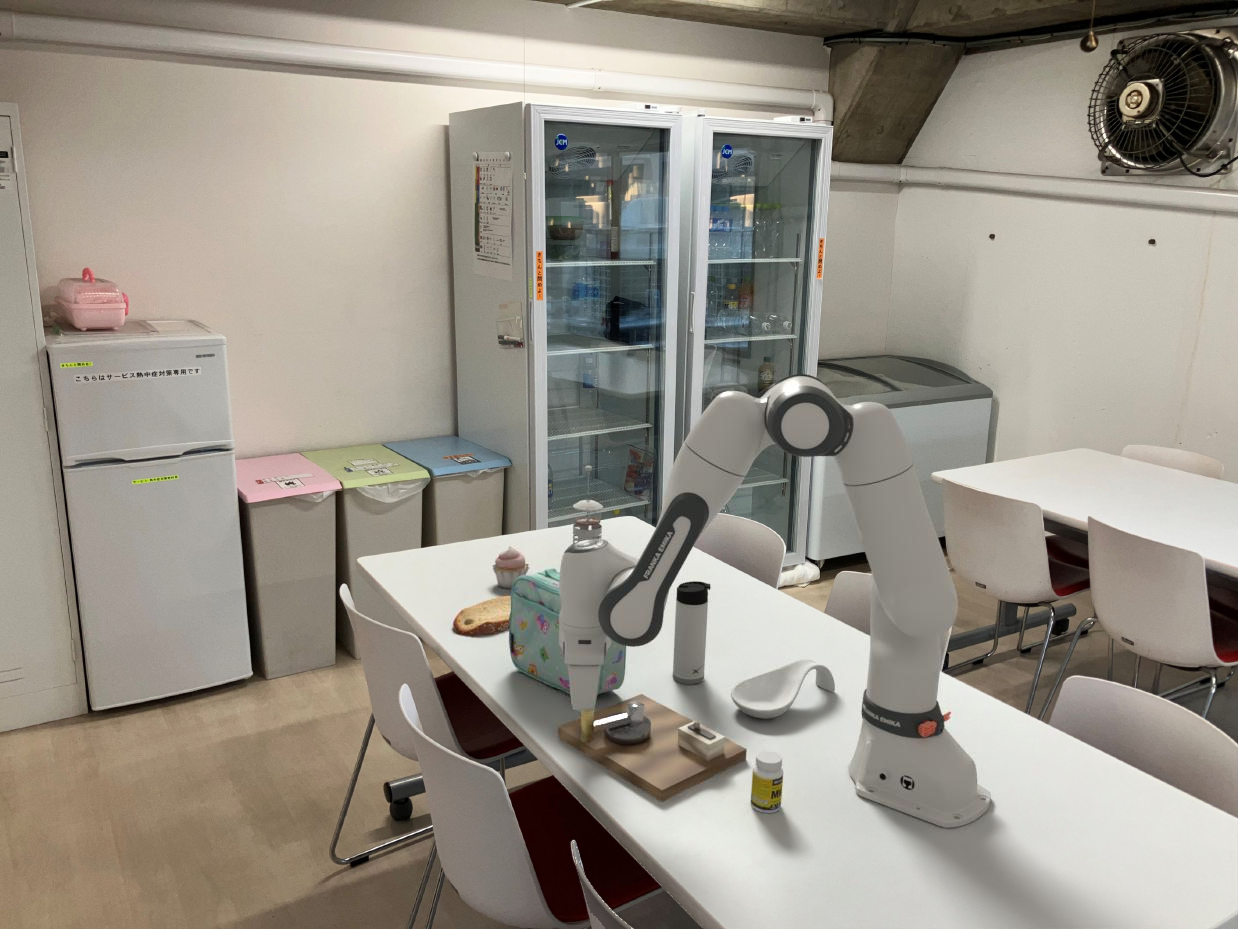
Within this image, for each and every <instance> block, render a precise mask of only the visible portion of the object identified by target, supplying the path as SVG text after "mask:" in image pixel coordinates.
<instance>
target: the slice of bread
mask: <svg viewBox="0 0 1238 929" xmlns="http://www.w3.org/2000/svg"><path fill="white" fill-rule="evenodd" d="M510 612H511V595H506V596H505V595H504V596H499V597H495V598H491V599H488V600H484V601H482V602H479V603H475V604H473V605H471V606H469V607H466V608H464V609H462V610H460V611H459V612H458V613H457V615H456V616H455V618H454V619H453V622H452V627H453V630H454V631H455V632H456V634H457V635H459V636H467V637H476V636H482V635H492V634H493V635H494V634H497V633H501V632H504V631H507V630H509V628H510V620H509V616H510Z"/></svg>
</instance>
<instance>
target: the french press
mask: <svg viewBox="0 0 1238 929" xmlns="http://www.w3.org/2000/svg"><path fill="white" fill-rule="evenodd" d="M584 470H585V471H587V493H589V492H590V490H589V483H590V482H589V479H590V471H593V467H592V466H591V465H586V466H585V468H584ZM572 507H573V508H574V509H575V510H576V511H578V512H585V513H586V512H587V513H586V516H579V517H576V518H575V519H574V524H572V525H573V526H572V544H573V543H576V542H579V541H581V540H586V539H602V529H603V527H602V524H600V523H601V519H600V518H598V517H593V516H590V515H591V514H592V513H594V516H596V514H597V513H596V512H599V511H601V510H602V509H603V507H604V506H603V505H602V504H601V503H599V502H597V501H595V500H592V499H583V500H579V501H578V502H576V503H574V504H572ZM590 513H591V514H590ZM590 527H591V528H590ZM589 528H590V529H589Z"/></svg>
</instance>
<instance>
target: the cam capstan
mask: <svg viewBox="0 0 1238 929" xmlns="http://www.w3.org/2000/svg"><path fill="white" fill-rule="evenodd" d="M594 712H595V709H594V710H592V711H581V712H580V718H581V738H580V740H581V741H582V742H585V743H589V742H592V741H593V740H594V732H597V731H601V730H604V735H605V737H606V738H607V739H608V740H609V741H611V742H613V743H616V744H619V745H638V744H641V743H644V742H646V741H647V740H648V739H649V738H650V735H651V722H650V720H649V719H648V718H647V717H645V716H644V704H643V703H642V702H638V701H632V702H629V703H628V704H627V712H620V713H615V714H612V715H610V716H609V717H607V718H605V719H601V720H597V721H594Z"/></svg>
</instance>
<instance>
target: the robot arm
mask: <svg viewBox="0 0 1238 929" xmlns="http://www.w3.org/2000/svg"><path fill="white" fill-rule="evenodd" d="M772 445H776V446H777V447H778V448H779V449H780V450H782V451H784V452H785V453H787V454H789V455H791V456H793V457H794V456H795V457H800V458H801V457H802V458H811V457H833V459H834V460H835V461H834V462H835V464H836V466H837V468H838V473H839V476H840V478H841V482H842V485H843V489H844V491H845V494H846V497H847V500H848V504H849V507H850V510H851V514H852V517H853V520H854V523H855V526H856V531H857V532H858V535H859V539H860V540H861V545H862V547H863V549H864V550H863V551H864V554H865V555H866V560H867V561H868V565H869V568H870V570H871V577H870V578H871V579H870V580H871V581H870V599H869V600H870V604H869V606H870V608H869V611H870V612H869V614H870V615H869V617H870V619H869V620H870V621H869V626H870V627H869V628H870V629H869V630H870V631H869V632H870V634H869V635H870V636H869V637H870V638H869V640H870V641H869V642H870V644H869V645H870V646H869V657H868V667H867V668H868V670H867V679H866V681H867V682H866V687H865V689H864V690H863V694H862V695H863V696H862V702H861V718H862V721H861V722H862V723H861V727H860V733H859V736H858V741H857V744H856V747H855V750H854V753H853V756H852V758H851V760H850V763H849V765H848V772H849V775H850V777H851V779H852V780H853V781H854V783H855V787H854V788H855V793H856V794H857V795H858V796H860V797H862V798H865V799H868V800H871V801H872V802H875V803H878V804H881V805H883V806H886V807H888V808H891V809H893V810H897V811H899V812H902V813H905V814H907V815H909V816H912V817H915V818H918V819H920V820H923V821H925V822H928V823H931V824H933V825H936V826H938V827H942V828H947V829H948V828H949V829H950V828H958V827H963V826H965V825H968V824H970V823H972V822H975V821H976V820H977V819H979V818H980V817H981V816H982V815H984V814H985V813H986V812H987V811H988V810H989V808H990V806H991V800H992V796H991V792H990V790H988V789H987V788H985V787H984V786H982V785H980V784H979V783H978V773H977V772H978V770H977V767H976V764H975V761H974V759H973V758H972V757H971V756H970V754H968V753H967V751H966V750H965V749H964V748H963V747H962V746H961V744H959V742H958V741H957V740H956V739H955V737H954V736H952V735H951V733H950V732H949V731H948V729H947V728H946V727H945V723H946V722H947V721H949V720H950V719H951V714H952V712H951V711H948V712H946V713H944V714H943V713H942V710H941V707H940V703H939V701H938V694H939V692H938V691H939V682H940V675H941V674H940V673H941V665H942V650H941V641H940V640H941V637H942V635H944V634H946V633H947V632H948V631H949V630H950V629H951V628H952V627H953V625H954V624H955V622H956V620H957V617H958V612H959V604H958V603H959V602H958V601H959V600H958V594H957V590H956V587H955V586H956V585H955V584H954V581H953V577H952V574H951V572H950V568H949V565H948V562H947V559H946V557H945V554H944V552H943V549H942V546H941V543H940V539H939V537H938V534H937V532H936V529H935V526H934V523H933V520H932V517H931V515H930V513H929V510H928V507H927V504H926V501H925V500H926V499H925V497H924V493H923V491H922V487H921V483H920V481H919V478H918V474H917V471H916V470H917V469H916V467H915V464H914V461H913V457H912V455H911V451H910V448H909V447H908V444H907V441H906V439H905V437H904V434H903V432H902V429H901V428H900V426H899V423H898V422H897V420H896V418H895V416H894V414H893V413H892V411H891V410H890V409H889V408H888V407H887V406H886V405H884V404H882V403H879V402H875V401H862V402H858V403H854V404H852V405H850V404H843V403H842V402H840V401H839V400H838V399H837V398H836V397H835V394H834V393H833V392H832V391H831V390H830V388H829V387H828V386H827V385H826V384H825V383H824V382H823V381H822V380H821V379H819V378H818V377H816V376H813V375H810V374H806V373H795V374H792V375H788V376H786V377H783V378H781V379H780V380H777V381H776V382H775V383H773V384H771V385H770V386H768V387H766V388H765V389H763V390H762V391H760V392H758V393H757V394H756V396H752V395H750V394H748V393H746V392H744V391H737V390H726V391H723V392H721V393H719V394H718V395H717V396H716V397H715V398H714V399H712V401H711V402H710V403H709V405H708V406H707V407H706V409H705V410H704V411H703V412H702V413H701V415H700V416H699V418H698V419H697V420H696V422H695V424H694V425H693V426H692V428H691V430H690V431H689V433H688V434H687V436H686V438H685V439H684V441H683V443H682V445H681V447H680V449H679V451H678V453H677V455H676V458H675V460H674V463H673V465H672V468H671V472H670V474H669V478H668V481H667V485H666V490H665V495H664V500H663V503H662V504H663V505H662V508H661V512H660V515H659V519H658V521H657V524H656V527H655V530H654V531H653V533H652V535H651V537H650V539H649V540H648V543H647V544H646V546H645V548H644V550H643V552H642V553H641V555H640V557H639V558H637V557H634V556H631V555H628V554H627V553H624V552H623V551H620V550H619V549H617V548H616V547H614V545H612V543H610V542H609V541H608V540H606V539H604V538H600V539H586V540H581V541H579V542H578V541H575V543H573V542H572V544H570V546H568V547H567V548H566V550H564V552H563V554H562V557H561V563H560V568H559V573H560V580H559V595H560V598H561V610H560V613H559V645H560V647H561V649H562V651H563V654H564V662H565V664H568V674H569V685H570V694H569V695H570V703H571V707H572V709H573V710H574V711H575V712H579V713H581V711H592V710H594V711H595V708H596V704H597V697H598V695H597V692H598V684H599V676H600V669H601V665H603V664H604V660H605V655H606V652H607V650H608V648H609V647H610V646H611V639H612V640H613V641H615V642H616V643H618V644H621V645H624V646H626V647H633V648H635V647H641V646H645V645H647V644H649V643H651V642H652V641H653V640H655V639H656V638H657V637H658V635H659V633H660V632H661V629H662V627H663V623H664V613H665V609H666V606H667V601H668V597H669V593H670V589H671V587H672V585H673V583H674V582H675V581H676V578H677V576H678V575H679V573H680V571H681V569H682V567H683V566H684V564H685V562H686V560H687V558H688V557H689V555H690V553H691V551H692V550H693V549H694V548H693V547H694V546H695V545H696V543H697V541H698V540H699V538H701V536H702V534H703V533H704V532H705V531H706V529H707V528H708V527H709V526H710V525H711V523H712V522H714V520H715V518H717V516H718V515H719V513H720V512H722V510H723V509H724V507H725V506H726V505H727V504H728V503H729V501H730V500H731V499H732V497H733V496H734V494H735V493H736V492H737V490H738V489H739V487H740V486H741V484H742V483H743V481H744V479H745V478H746V476H747V475H748V473H749V471H750V469H751V467H752V465H753V463H754V461H755V460H756V459H757V458H758V457H759V454H761V453H762V452H763V450H765V449H767V448H768V447H770V446H772ZM940 636H941V637H940Z"/></svg>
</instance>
